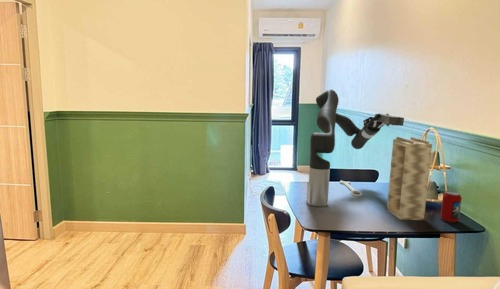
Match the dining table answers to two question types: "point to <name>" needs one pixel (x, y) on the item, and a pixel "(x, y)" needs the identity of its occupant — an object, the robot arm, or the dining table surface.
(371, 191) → the dining table surface
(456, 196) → the beverage can
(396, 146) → the beige patterned box
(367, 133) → the robot arm
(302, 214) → the dining table surface
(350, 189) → the wrench
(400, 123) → the gray block
